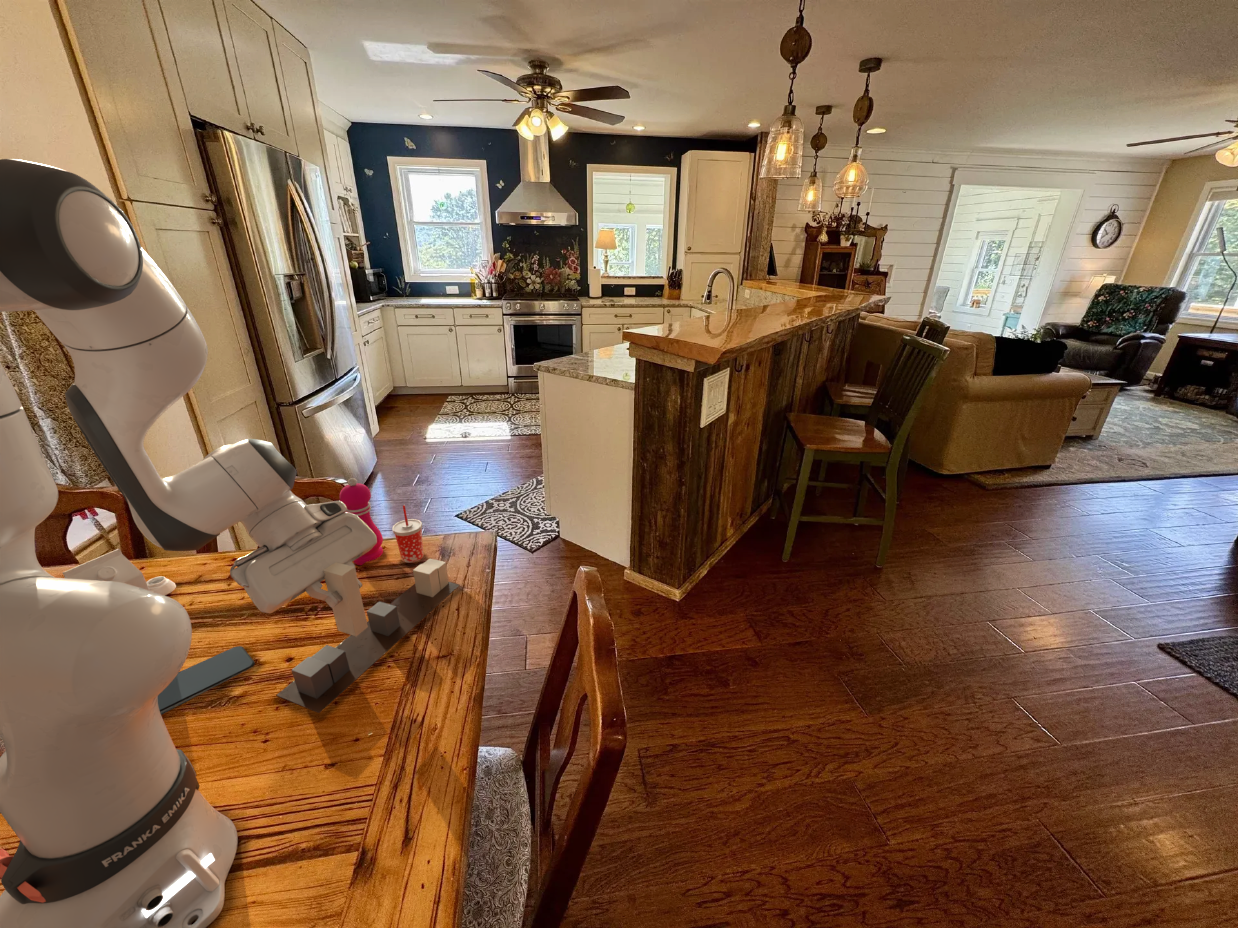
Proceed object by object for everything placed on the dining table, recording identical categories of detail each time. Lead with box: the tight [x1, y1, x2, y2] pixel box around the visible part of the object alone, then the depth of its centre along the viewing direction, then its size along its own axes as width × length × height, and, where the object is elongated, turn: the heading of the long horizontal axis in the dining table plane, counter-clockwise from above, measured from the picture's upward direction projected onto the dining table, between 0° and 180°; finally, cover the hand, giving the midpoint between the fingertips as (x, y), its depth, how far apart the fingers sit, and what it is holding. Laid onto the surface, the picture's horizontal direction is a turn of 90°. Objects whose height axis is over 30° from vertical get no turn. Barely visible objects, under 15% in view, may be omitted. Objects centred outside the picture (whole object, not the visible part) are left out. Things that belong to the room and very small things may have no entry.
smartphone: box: [158, 645, 255, 715], centre depth 78 cm, size 8×2×15 cm
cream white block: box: [412, 558, 450, 597], centre depth 100 cm, size 5×4×6 cm
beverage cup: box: [391, 504, 425, 563], centre depth 109 cm, size 6×6×14 cm
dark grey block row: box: [290, 601, 400, 699], centre depth 83 cm, size 18×4×4 cm, turn 160°
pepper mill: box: [339, 477, 384, 566], centre depth 108 cm, size 7×7×20 cm
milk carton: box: [62, 548, 150, 591], centre depth 81 cm, size 7×7×19 cm
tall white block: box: [323, 562, 368, 636], centre depth 80 cm, size 2×4×12 cm, turn 70°
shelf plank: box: [276, 581, 461, 714], centre depth 89 cm, size 34×9×1 cm, turn 160°
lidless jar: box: [146, 575, 177, 596], centre depth 99 cm, size 5×3×5 cm
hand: (348, 596), depth 80 cm, fingers closed on tall white block, 2 cm apart
